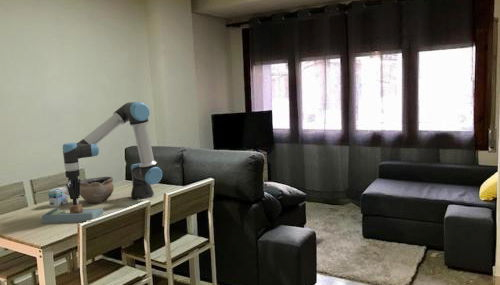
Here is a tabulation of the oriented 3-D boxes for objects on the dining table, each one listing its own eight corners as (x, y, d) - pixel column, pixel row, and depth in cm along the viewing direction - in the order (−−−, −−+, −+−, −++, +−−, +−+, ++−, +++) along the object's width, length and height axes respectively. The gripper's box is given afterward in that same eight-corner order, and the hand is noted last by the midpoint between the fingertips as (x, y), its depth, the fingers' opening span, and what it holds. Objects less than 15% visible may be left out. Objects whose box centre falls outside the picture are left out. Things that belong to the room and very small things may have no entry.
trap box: (104, 212, 250) (103, 205, 249) (92, 221, 234) (91, 213, 234) (56, 214, 252) (56, 207, 251) (42, 223, 236) (41, 215, 235)
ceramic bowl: (81, 207, 265) (79, 184, 263) (78, 200, 284) (76, 179, 282) (117, 201, 275) (115, 179, 273) (112, 195, 294) (110, 174, 292)
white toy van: (58, 207, 270) (56, 190, 269) (49, 207, 272) (47, 191, 270) (68, 202, 281) (67, 187, 279) (59, 202, 282) (58, 187, 281)
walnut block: (82, 212, 243) (81, 203, 242) (78, 214, 238) (78, 206, 237) (74, 212, 243) (73, 204, 243) (70, 215, 238) (69, 206, 238)
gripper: (71, 167, 247) (75, 206, 250) (60, 172, 234) (64, 213, 237) (83, 167, 247) (87, 206, 250) (73, 171, 234) (77, 212, 237)
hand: (76, 209), depth 244 cm, fingers closed
